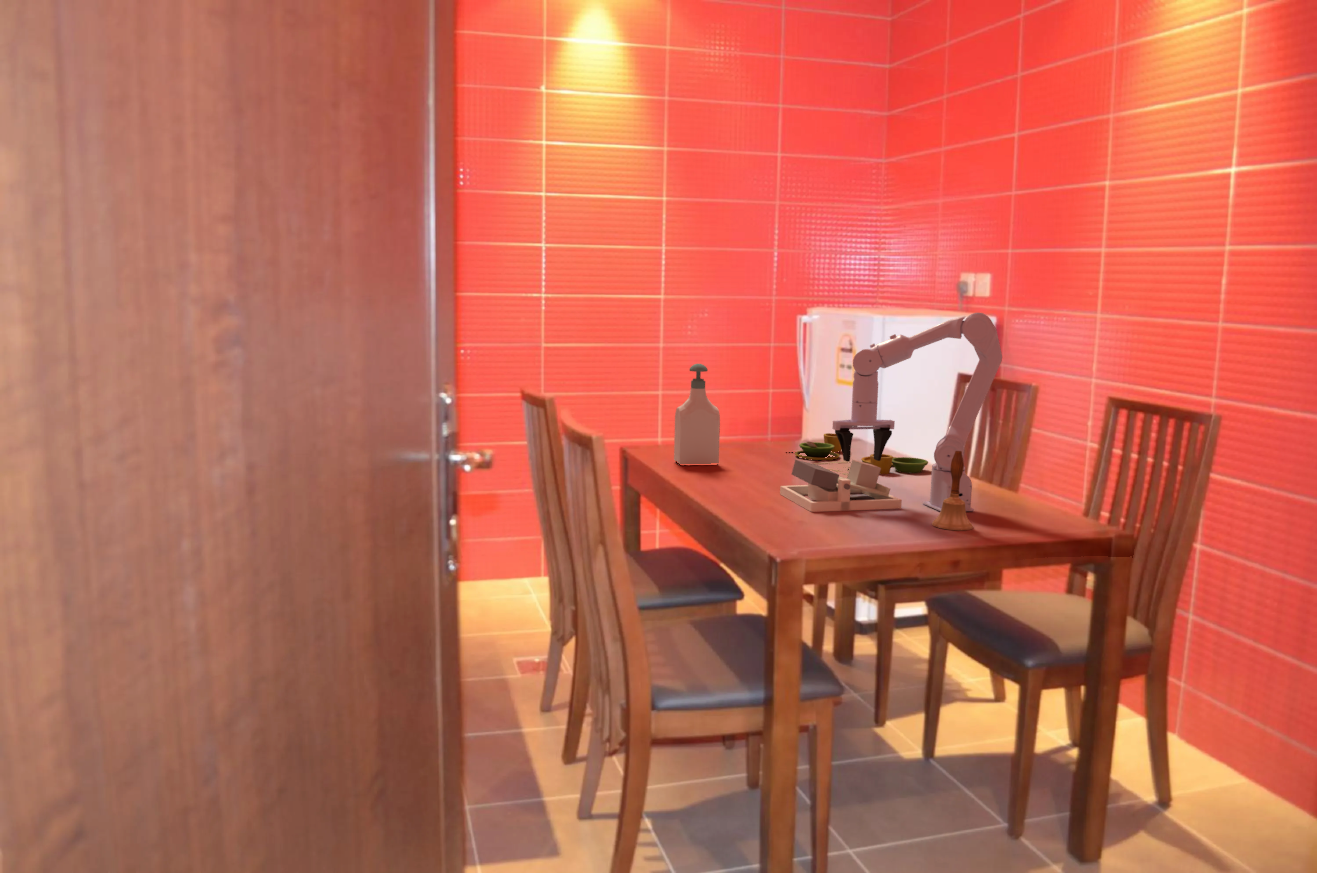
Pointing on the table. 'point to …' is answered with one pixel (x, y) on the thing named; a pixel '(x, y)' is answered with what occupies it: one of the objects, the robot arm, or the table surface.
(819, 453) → the tableware set
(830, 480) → the trapdoor
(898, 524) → the table surface
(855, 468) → the beige cube
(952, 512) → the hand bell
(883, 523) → the table surface
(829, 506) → the frame
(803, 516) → the table surface
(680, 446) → the soap bottle
